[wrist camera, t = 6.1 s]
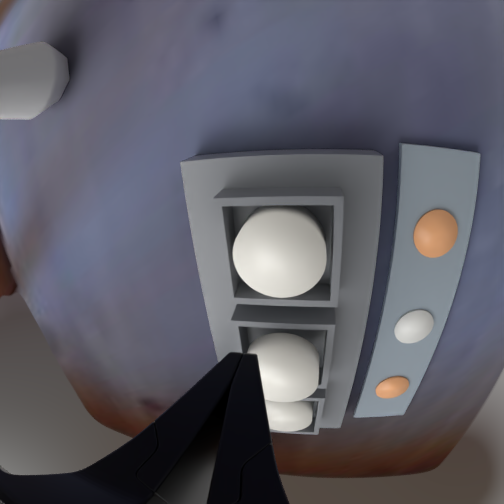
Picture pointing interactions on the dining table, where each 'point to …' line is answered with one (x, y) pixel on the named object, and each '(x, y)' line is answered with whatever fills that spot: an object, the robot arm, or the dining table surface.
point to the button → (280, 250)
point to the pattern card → (420, 271)
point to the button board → (337, 250)
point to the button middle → (286, 366)
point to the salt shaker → (31, 80)
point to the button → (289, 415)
